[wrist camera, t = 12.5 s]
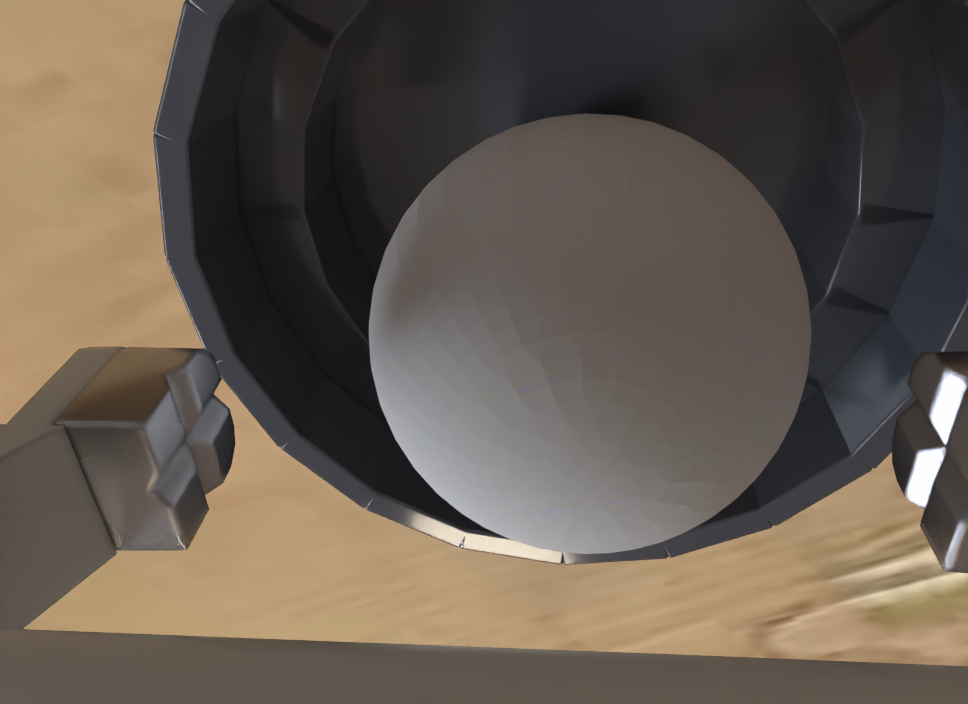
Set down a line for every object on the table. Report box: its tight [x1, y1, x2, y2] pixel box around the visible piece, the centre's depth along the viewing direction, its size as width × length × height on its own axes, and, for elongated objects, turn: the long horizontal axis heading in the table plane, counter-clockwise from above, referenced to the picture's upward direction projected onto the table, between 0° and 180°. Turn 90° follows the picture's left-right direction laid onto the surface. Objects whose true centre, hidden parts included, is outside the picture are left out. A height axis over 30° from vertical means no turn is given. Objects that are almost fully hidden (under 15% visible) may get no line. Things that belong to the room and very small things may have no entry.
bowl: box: [153, 0, 968, 565], centre depth 16 cm, size 14×14×5 cm
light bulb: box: [369, 114, 811, 554], centre depth 13 cm, size 6×6×10 cm
